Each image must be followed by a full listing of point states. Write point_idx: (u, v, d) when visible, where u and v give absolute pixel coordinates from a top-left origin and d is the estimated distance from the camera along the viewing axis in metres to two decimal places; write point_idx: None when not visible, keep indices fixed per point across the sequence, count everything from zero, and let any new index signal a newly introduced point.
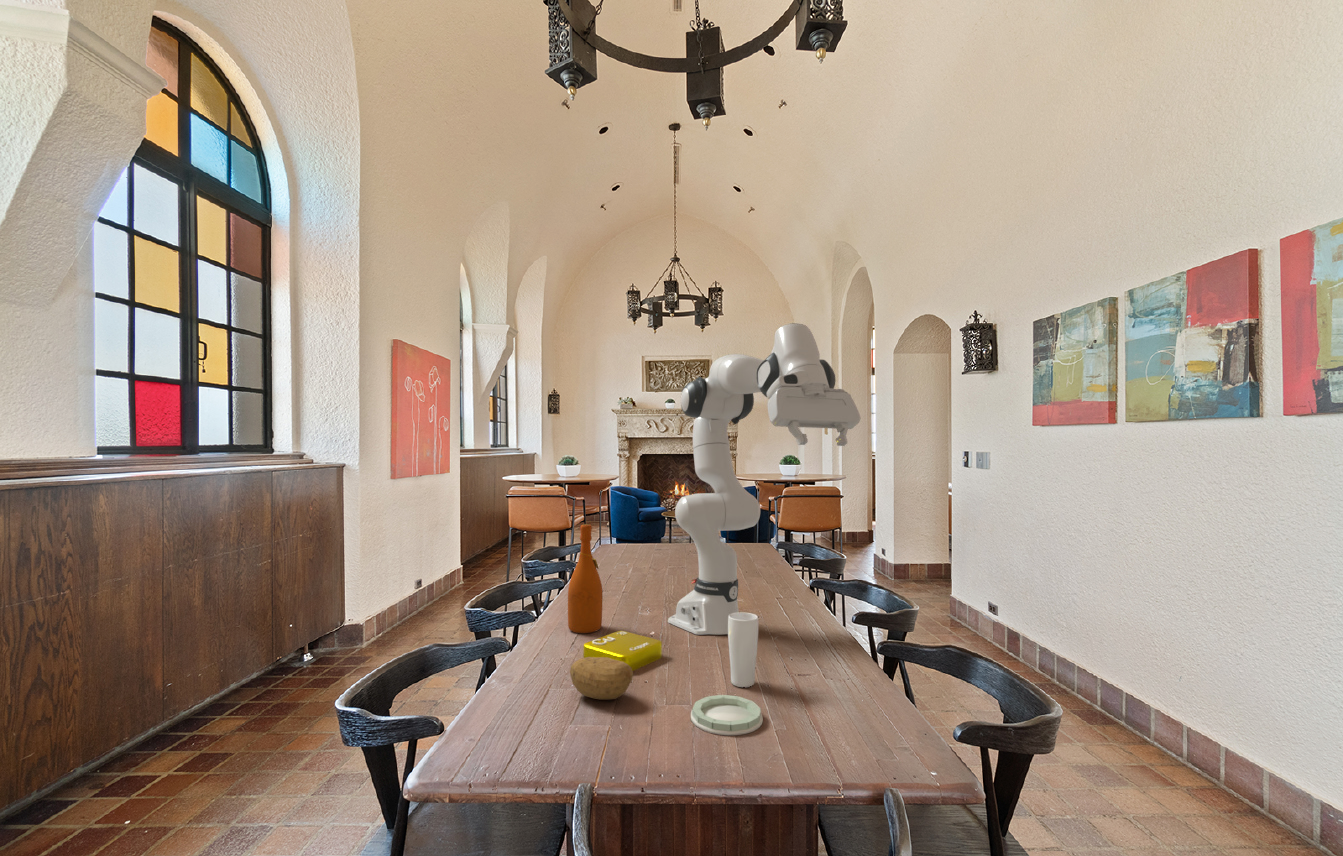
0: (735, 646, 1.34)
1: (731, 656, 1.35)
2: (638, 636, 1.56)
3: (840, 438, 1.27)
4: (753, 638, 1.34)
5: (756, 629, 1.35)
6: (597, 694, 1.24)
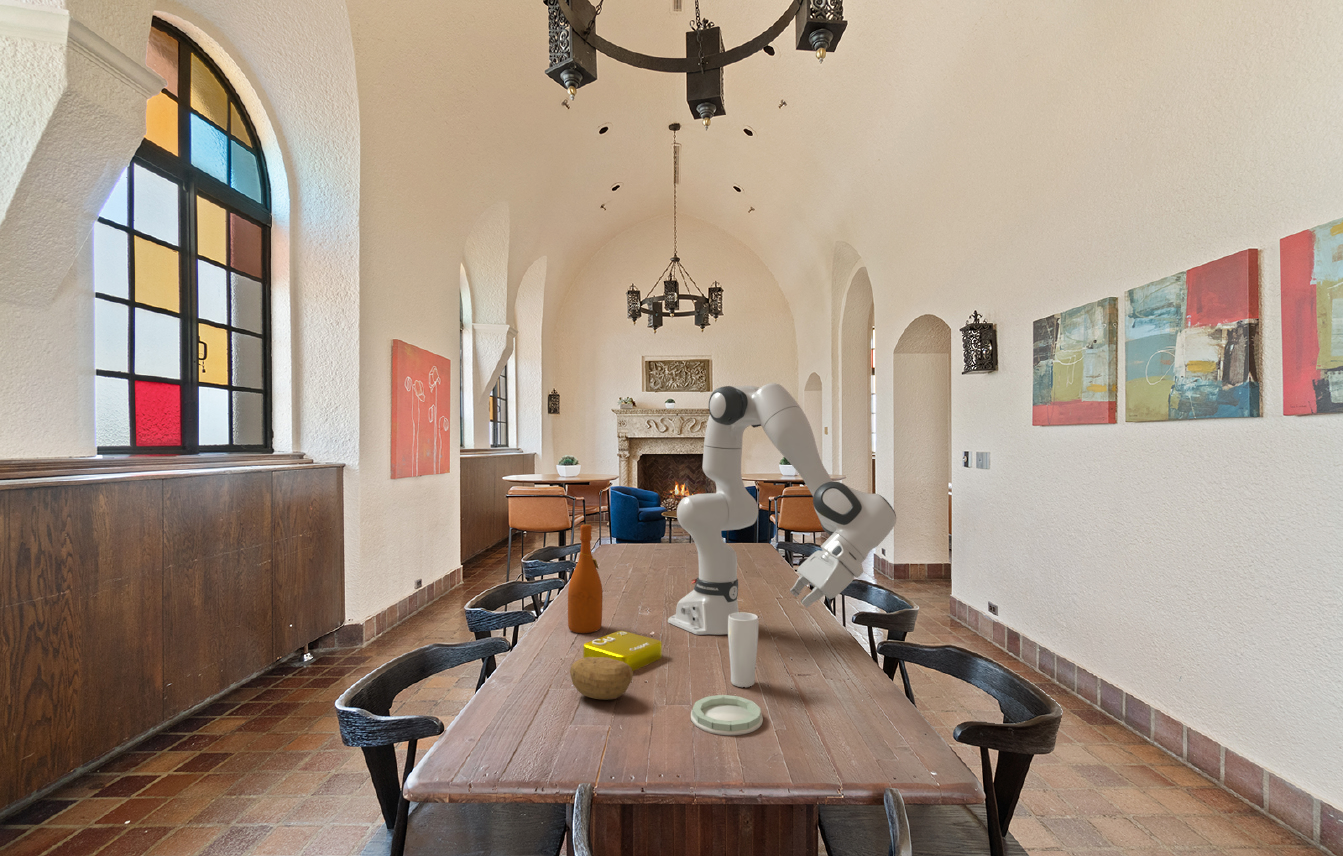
0: (736, 646, 1.34)
1: (731, 656, 1.35)
2: (638, 636, 1.56)
3: (798, 593, 1.41)
4: (753, 638, 1.34)
5: (756, 629, 1.35)
6: (597, 694, 1.24)
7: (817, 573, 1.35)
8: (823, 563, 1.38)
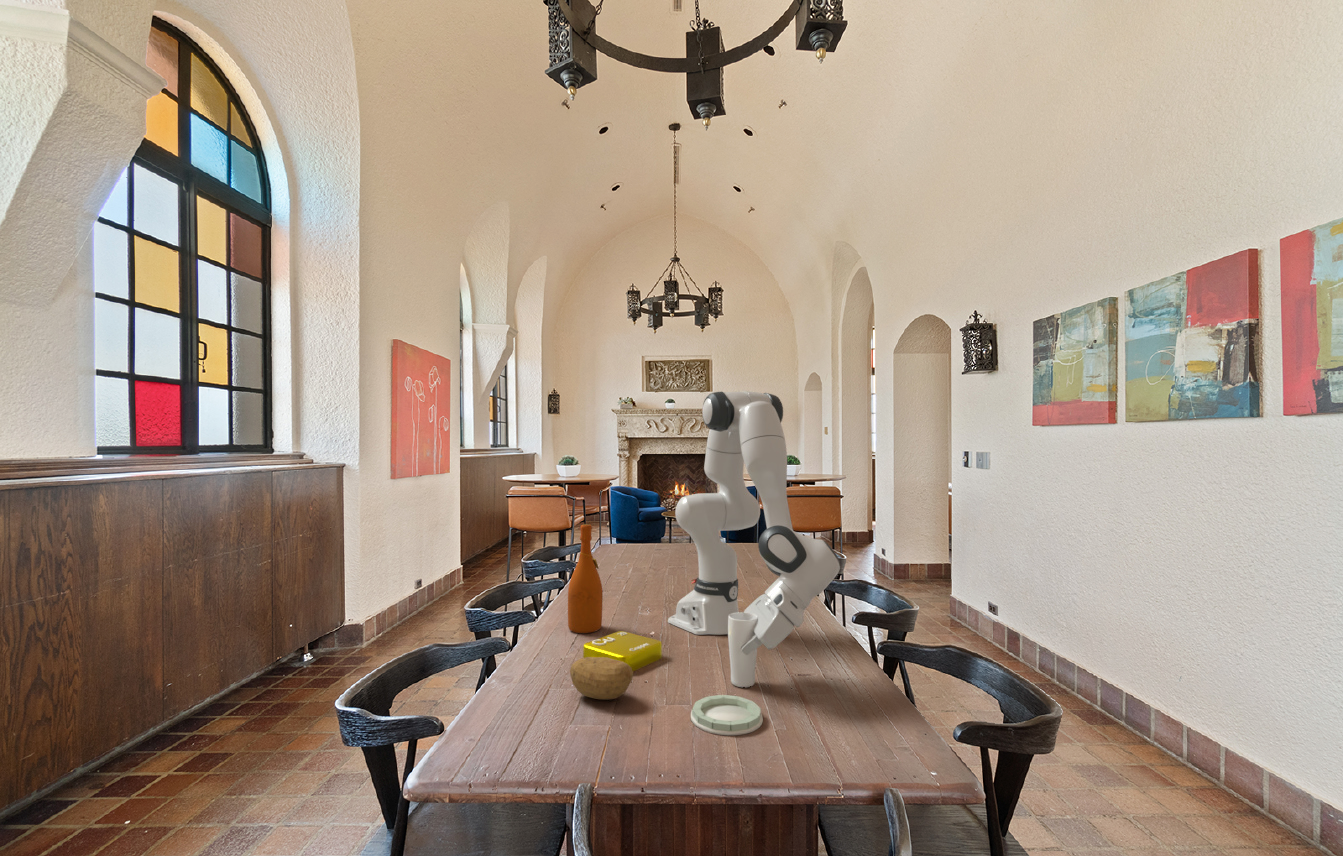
0: (736, 646, 1.34)
1: (731, 656, 1.35)
2: (638, 636, 1.56)
3: None
4: None
5: None
6: (597, 694, 1.24)
7: (759, 621, 1.34)
8: (766, 609, 1.37)
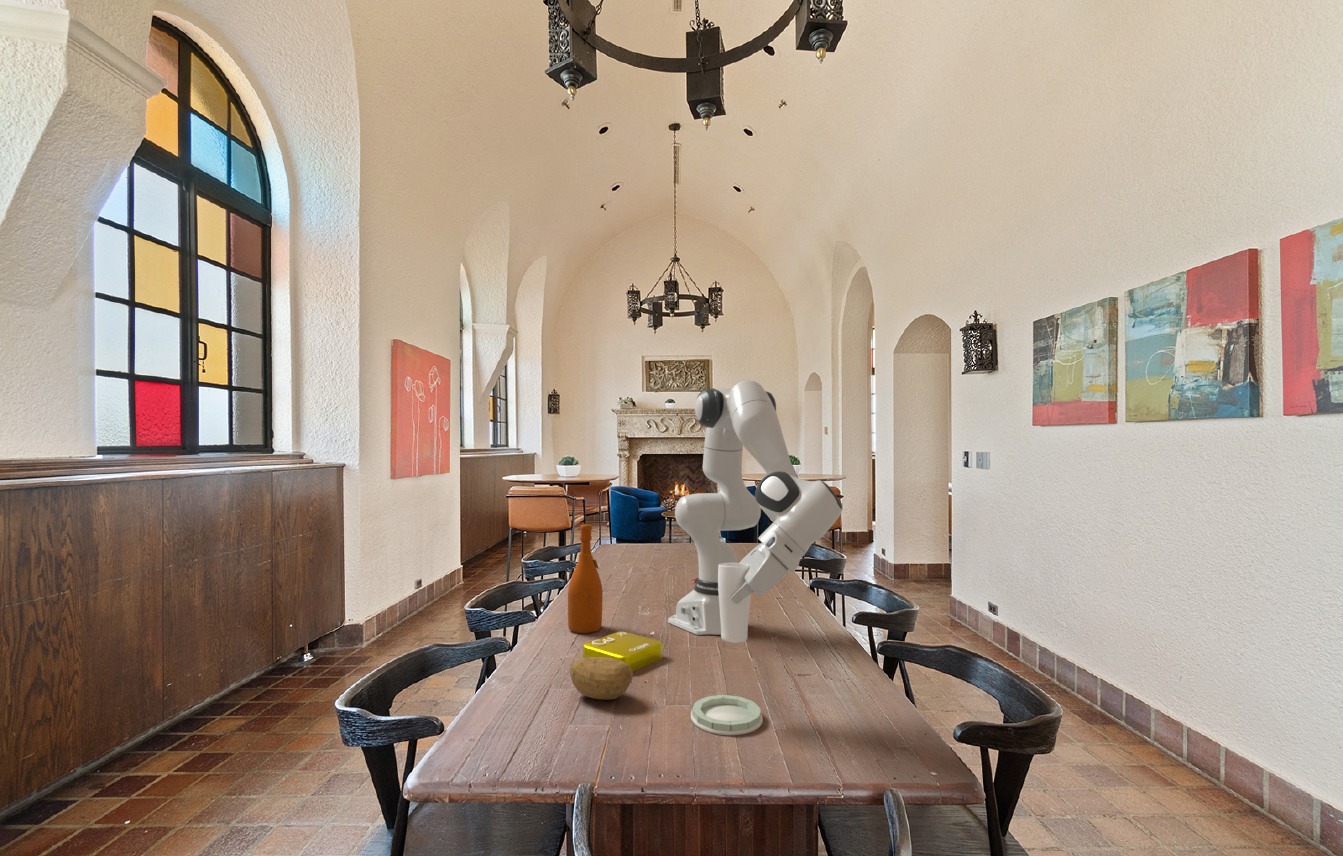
0: (725, 596, 1.22)
1: (721, 608, 1.23)
2: (638, 637, 1.56)
3: None
4: None
5: None
6: (597, 694, 1.24)
7: (751, 568, 1.22)
8: (760, 557, 1.24)
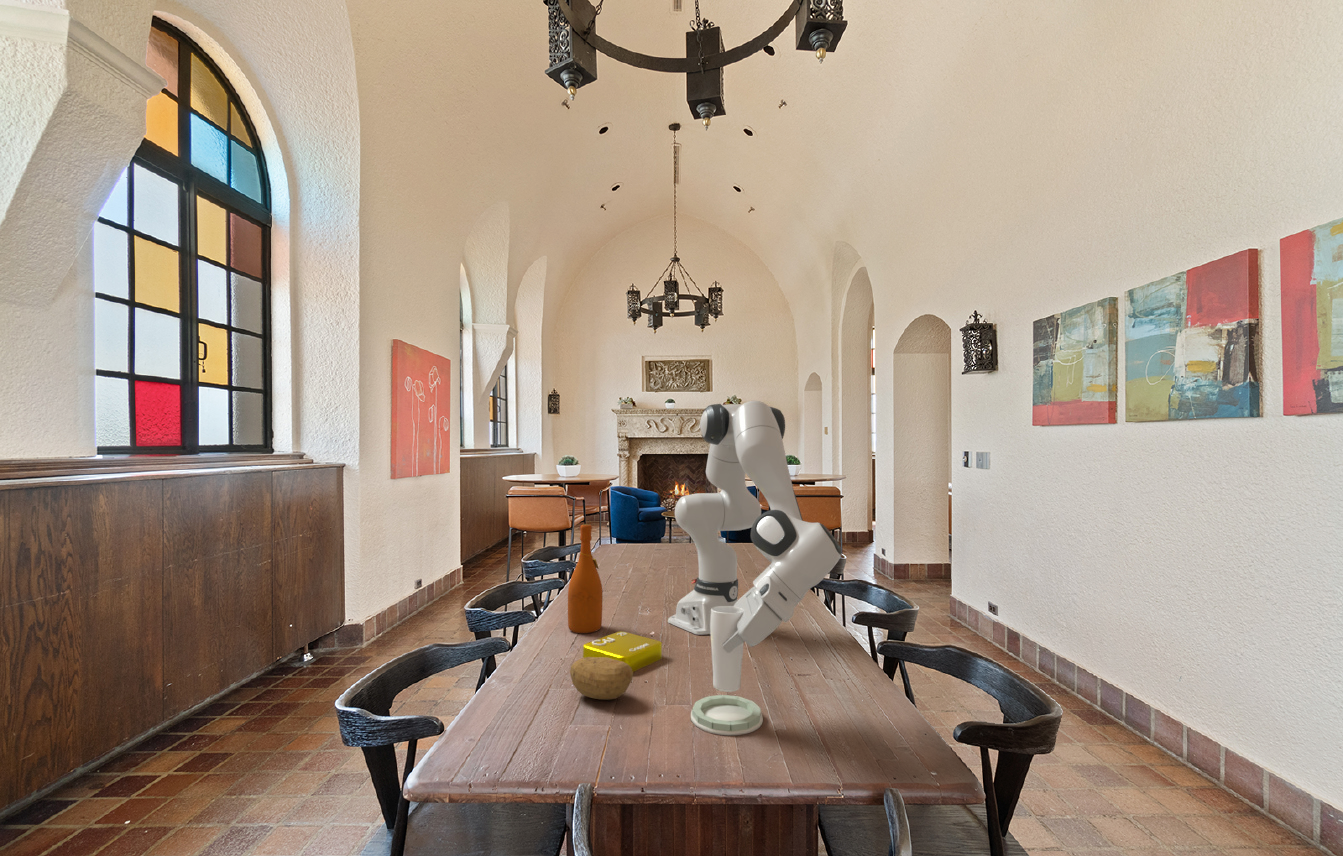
0: (717, 643, 1.17)
1: (713, 655, 1.18)
2: (638, 637, 1.56)
3: None
4: None
5: None
6: (597, 694, 1.24)
7: (744, 614, 1.17)
8: (754, 602, 1.19)
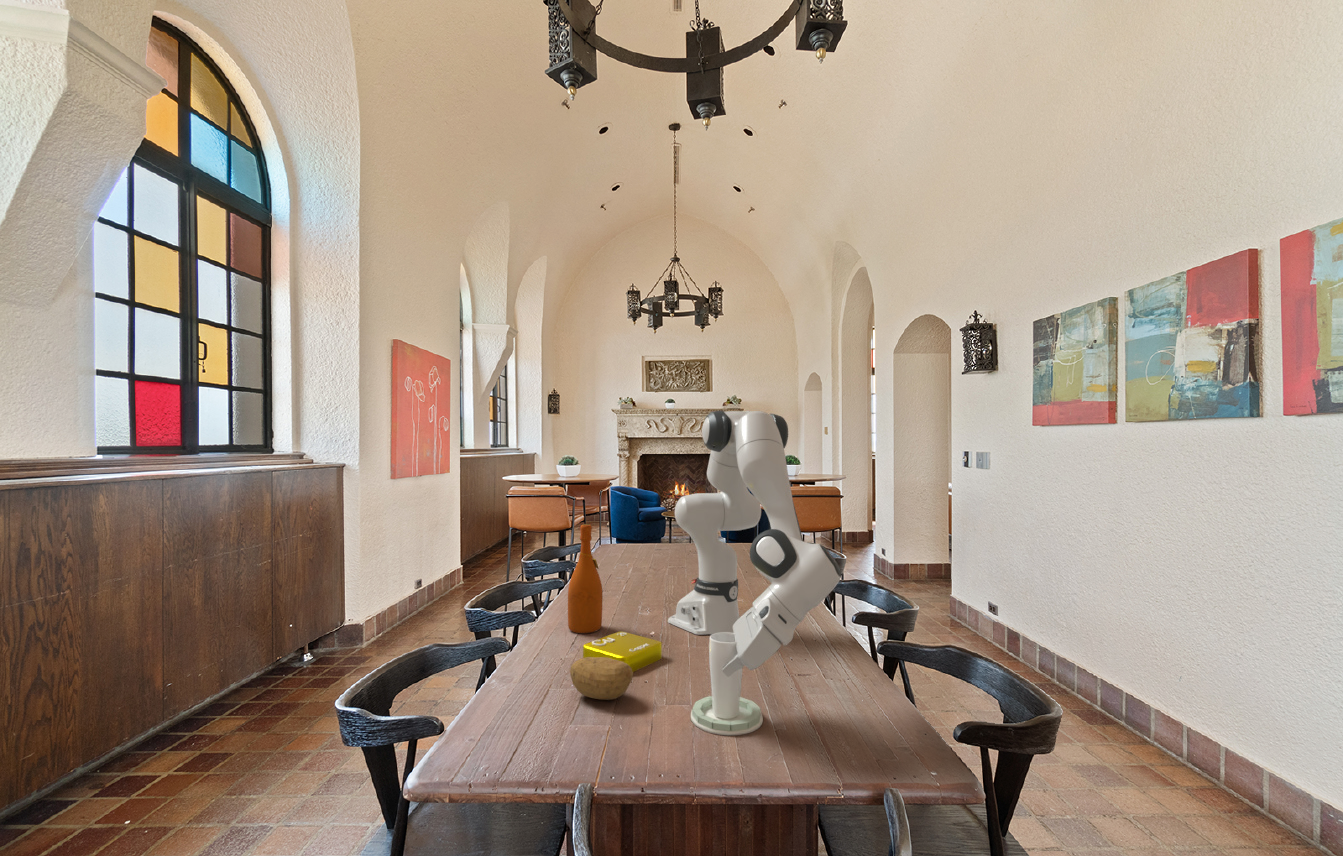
0: (716, 672, 1.17)
1: (712, 682, 1.19)
2: (638, 637, 1.56)
3: None
4: None
5: None
6: (597, 694, 1.24)
7: (743, 636, 1.17)
8: (753, 623, 1.19)
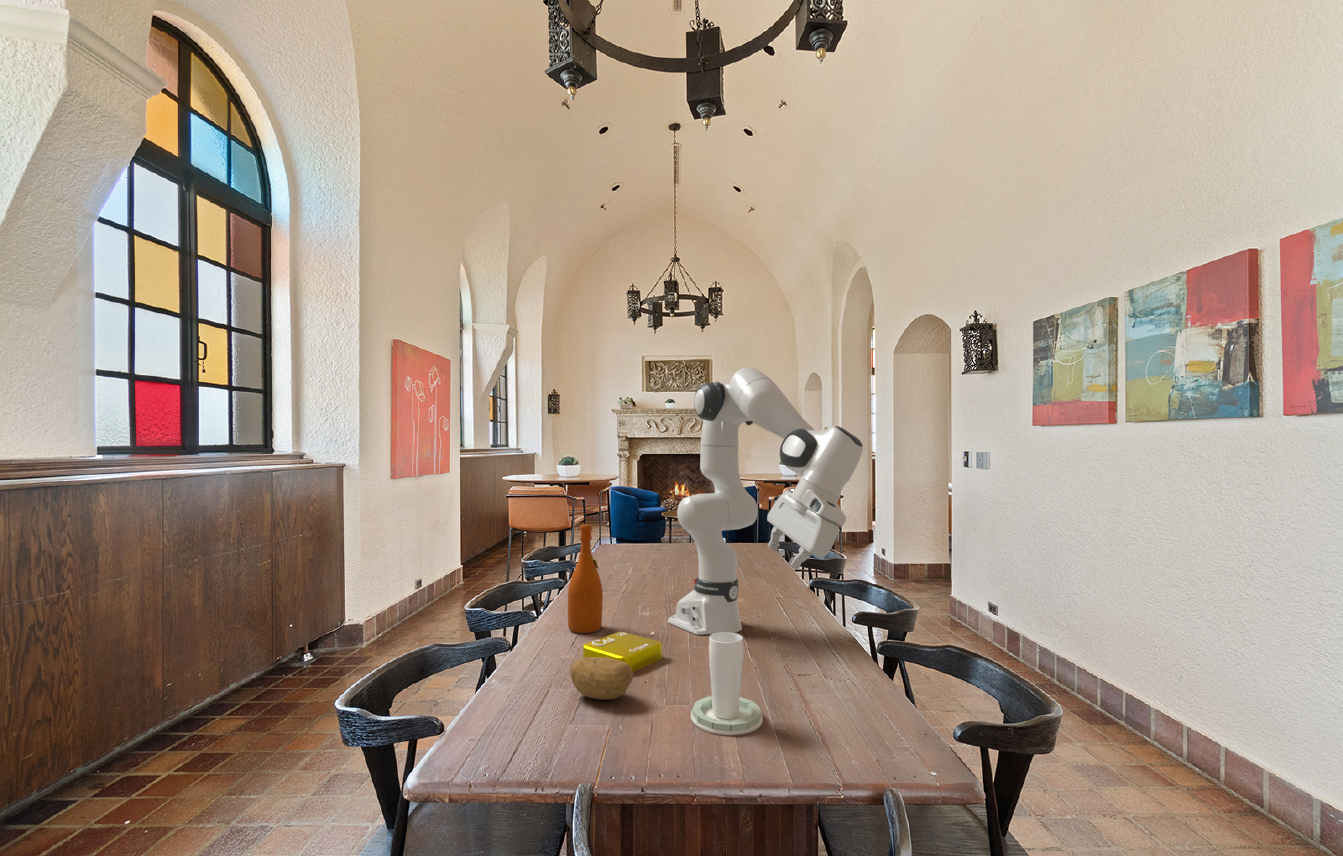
0: (716, 672, 1.17)
1: (712, 682, 1.19)
2: (638, 637, 1.56)
3: (777, 546, 1.33)
4: (736, 663, 1.17)
5: (740, 653, 1.18)
6: (597, 694, 1.24)
7: (797, 530, 1.25)
8: (799, 514, 1.27)
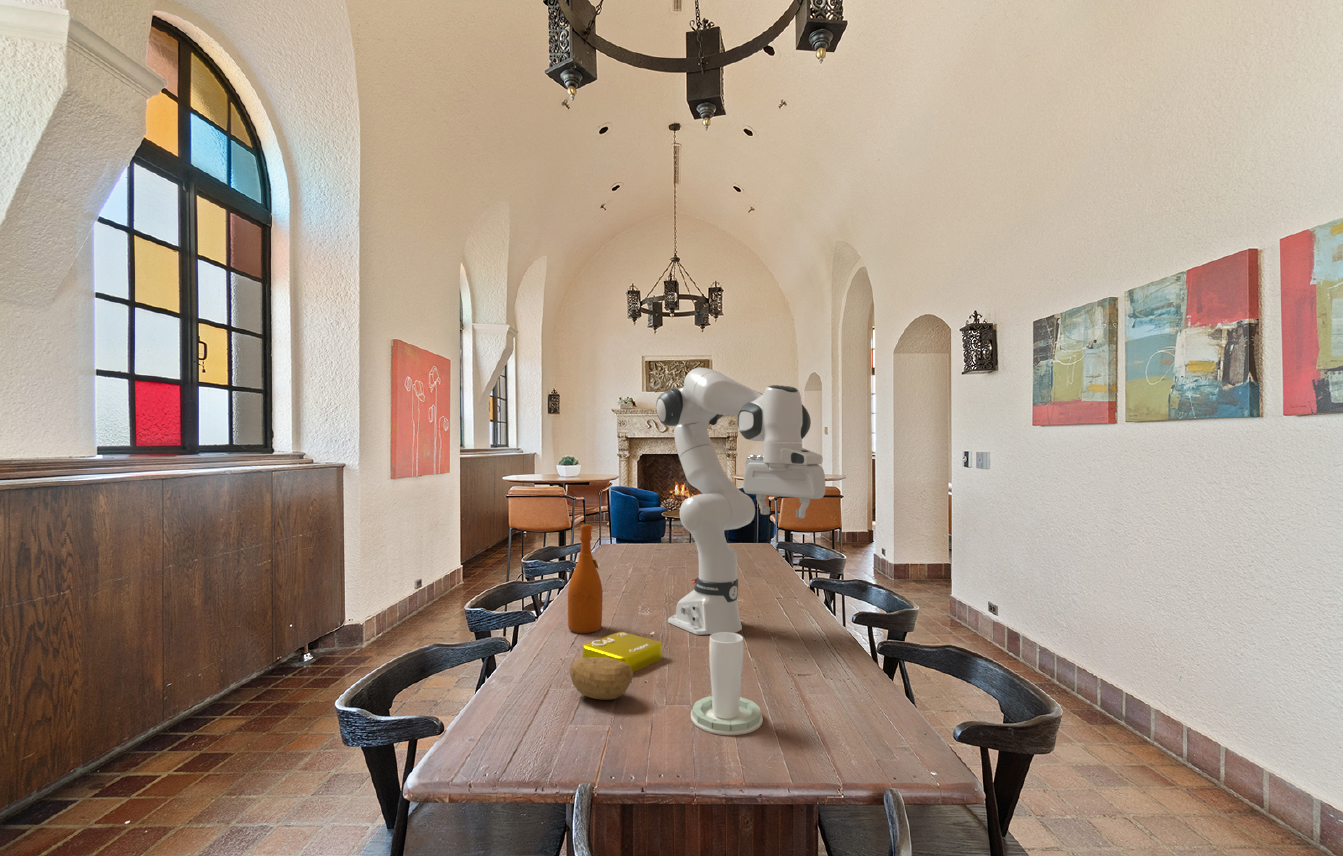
0: (716, 672, 1.17)
1: (712, 682, 1.19)
2: (638, 637, 1.56)
3: (769, 509, 1.43)
4: (736, 663, 1.17)
5: (740, 653, 1.18)
6: (597, 694, 1.24)
7: (788, 486, 1.36)
8: (779, 473, 1.38)
